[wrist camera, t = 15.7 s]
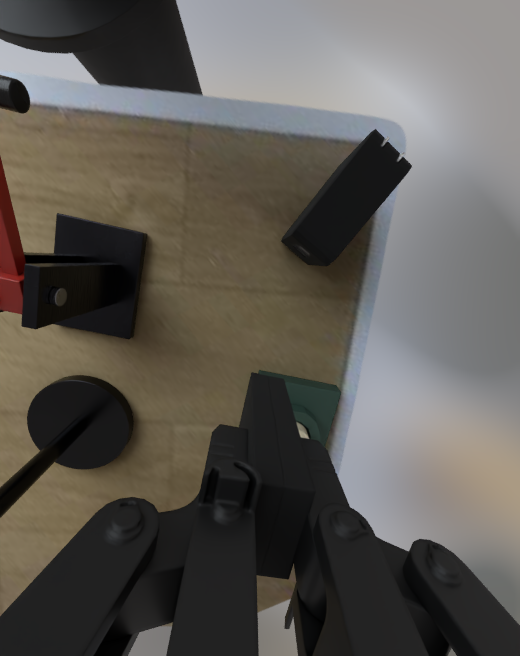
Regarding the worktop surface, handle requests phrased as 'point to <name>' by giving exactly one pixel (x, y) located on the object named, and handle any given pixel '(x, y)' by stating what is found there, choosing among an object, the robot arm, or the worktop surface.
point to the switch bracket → (85, 279)
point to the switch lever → (11, 212)
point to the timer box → (311, 404)
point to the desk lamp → (72, 430)
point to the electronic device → (347, 201)
